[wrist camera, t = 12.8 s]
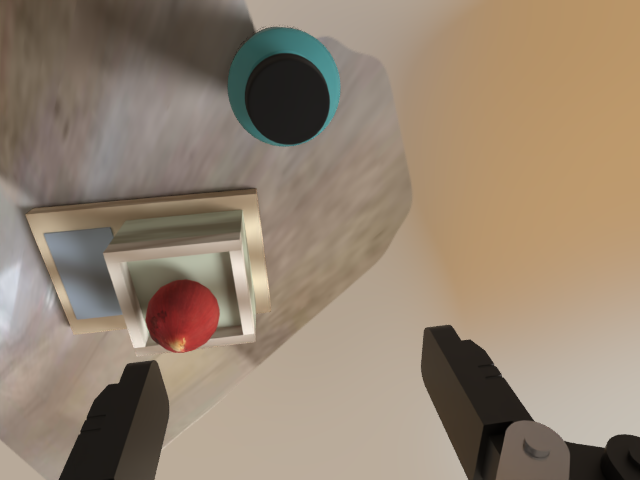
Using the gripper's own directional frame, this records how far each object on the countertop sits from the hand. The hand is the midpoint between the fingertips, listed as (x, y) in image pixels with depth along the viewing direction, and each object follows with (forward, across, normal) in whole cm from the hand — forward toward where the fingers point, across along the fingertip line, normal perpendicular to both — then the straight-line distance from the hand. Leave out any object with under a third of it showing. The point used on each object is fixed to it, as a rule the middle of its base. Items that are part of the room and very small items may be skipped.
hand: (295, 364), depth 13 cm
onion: (+24, +9, +12) cm, 28 cm away
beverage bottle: (+30, -1, -6) cm, 31 cm away
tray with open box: (+30, +12, +12) cm, 35 cm away
